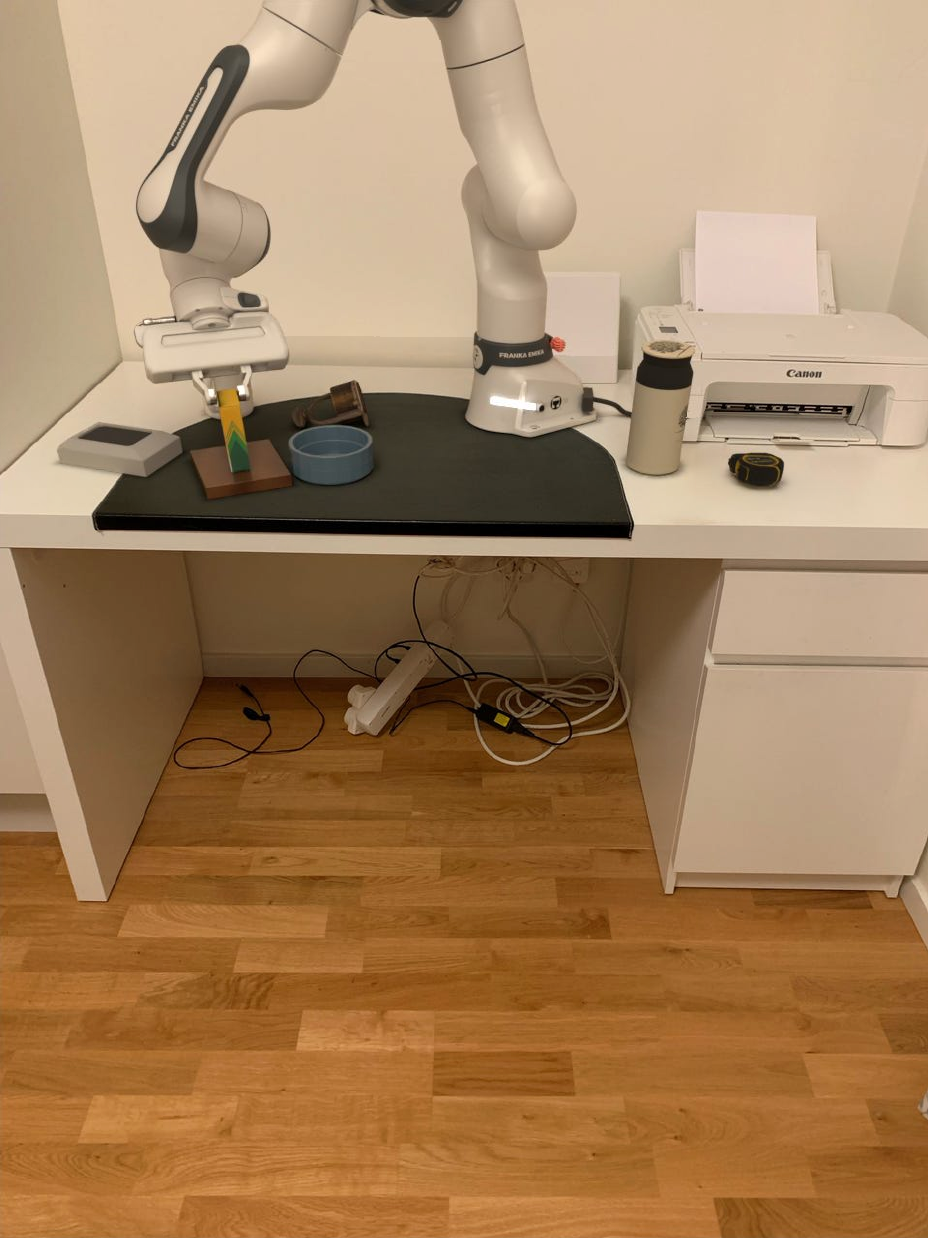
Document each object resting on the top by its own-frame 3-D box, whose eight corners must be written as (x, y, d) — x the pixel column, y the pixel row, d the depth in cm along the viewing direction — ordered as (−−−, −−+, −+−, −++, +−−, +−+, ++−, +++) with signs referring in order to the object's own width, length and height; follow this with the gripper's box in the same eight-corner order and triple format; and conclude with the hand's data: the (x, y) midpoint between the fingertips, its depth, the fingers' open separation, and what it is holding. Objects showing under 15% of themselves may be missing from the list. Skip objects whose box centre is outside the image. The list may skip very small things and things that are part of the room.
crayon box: (252, 470, 125) (237, 391, 119) (231, 473, 125) (215, 394, 118) (247, 450, 131) (233, 375, 125) (227, 453, 131) (212, 377, 124)
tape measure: (769, 471, 132) (774, 448, 130) (787, 491, 126) (793, 467, 124) (725, 472, 131) (730, 449, 129) (741, 492, 126) (746, 468, 124)
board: (270, 450, 136) (268, 439, 135) (292, 485, 126) (291, 474, 125) (191, 461, 132) (189, 450, 131) (207, 499, 122) (205, 487, 121)
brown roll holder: (360, 407, 137) (378, 373, 144) (283, 393, 139) (304, 360, 145) (361, 444, 143) (379, 411, 149) (287, 430, 144) (307, 398, 151)
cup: (261, 404, 153) (254, 346, 147) (236, 429, 143) (228, 368, 137) (216, 401, 154) (207, 343, 148) (188, 426, 144) (178, 365, 138)
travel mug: (615, 466, 133) (629, 347, 123) (642, 450, 138) (657, 335, 128) (662, 481, 129) (680, 359, 118) (687, 464, 134) (707, 346, 124)
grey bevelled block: (141, 453, 126) (54, 440, 129) (146, 476, 128) (60, 463, 131) (178, 429, 133) (95, 417, 137) (182, 452, 135) (100, 439, 139)
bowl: (359, 447, 137) (357, 420, 135) (384, 478, 128) (383, 449, 126) (283, 459, 133) (279, 431, 131) (303, 491, 124) (300, 462, 122)
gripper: (129, 307, 119) (151, 400, 117) (277, 295, 126) (300, 382, 124) (132, 332, 125) (153, 420, 123) (273, 318, 132) (295, 402, 130)
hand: (228, 401), depth 124 cm, fingers closed on crayon box, 3 cm apart
